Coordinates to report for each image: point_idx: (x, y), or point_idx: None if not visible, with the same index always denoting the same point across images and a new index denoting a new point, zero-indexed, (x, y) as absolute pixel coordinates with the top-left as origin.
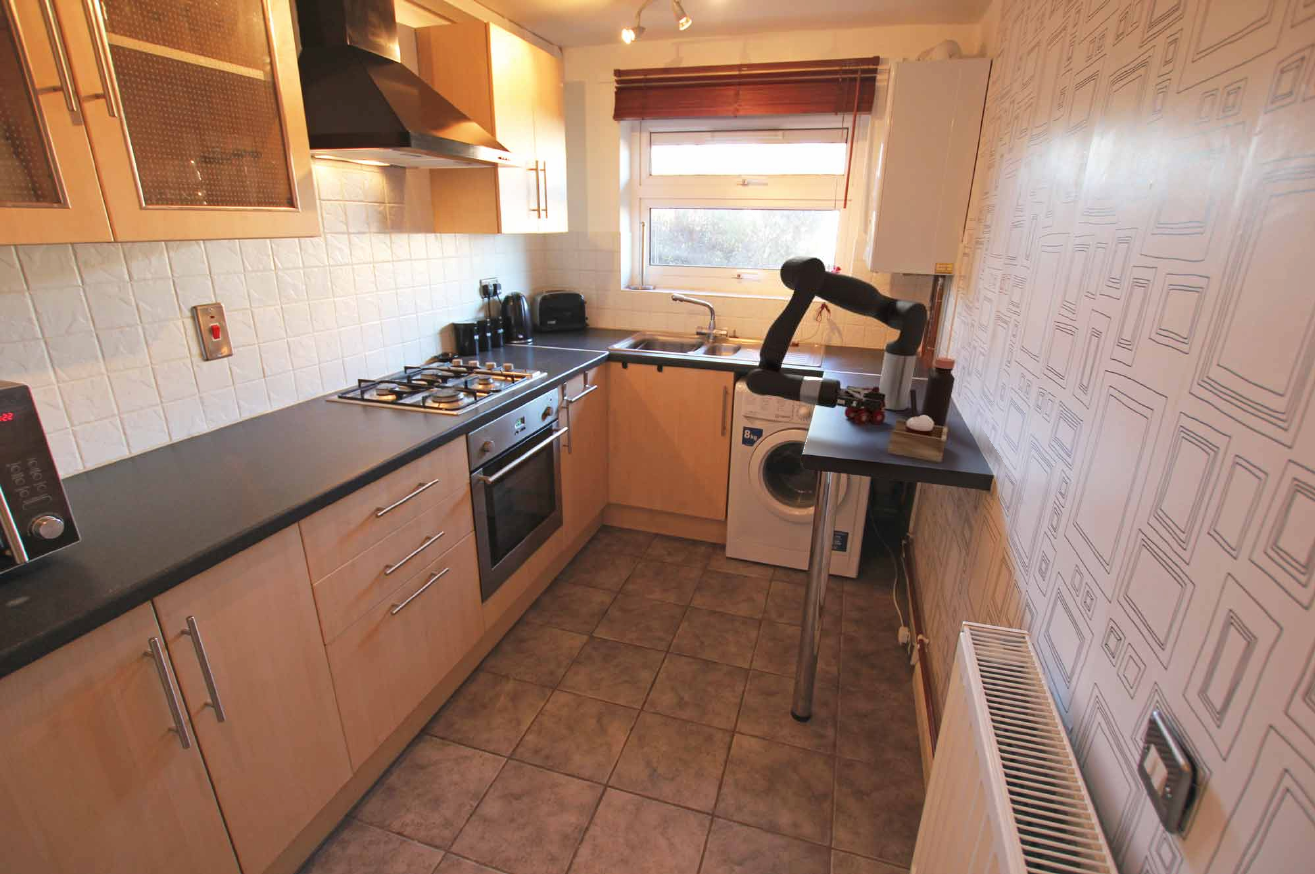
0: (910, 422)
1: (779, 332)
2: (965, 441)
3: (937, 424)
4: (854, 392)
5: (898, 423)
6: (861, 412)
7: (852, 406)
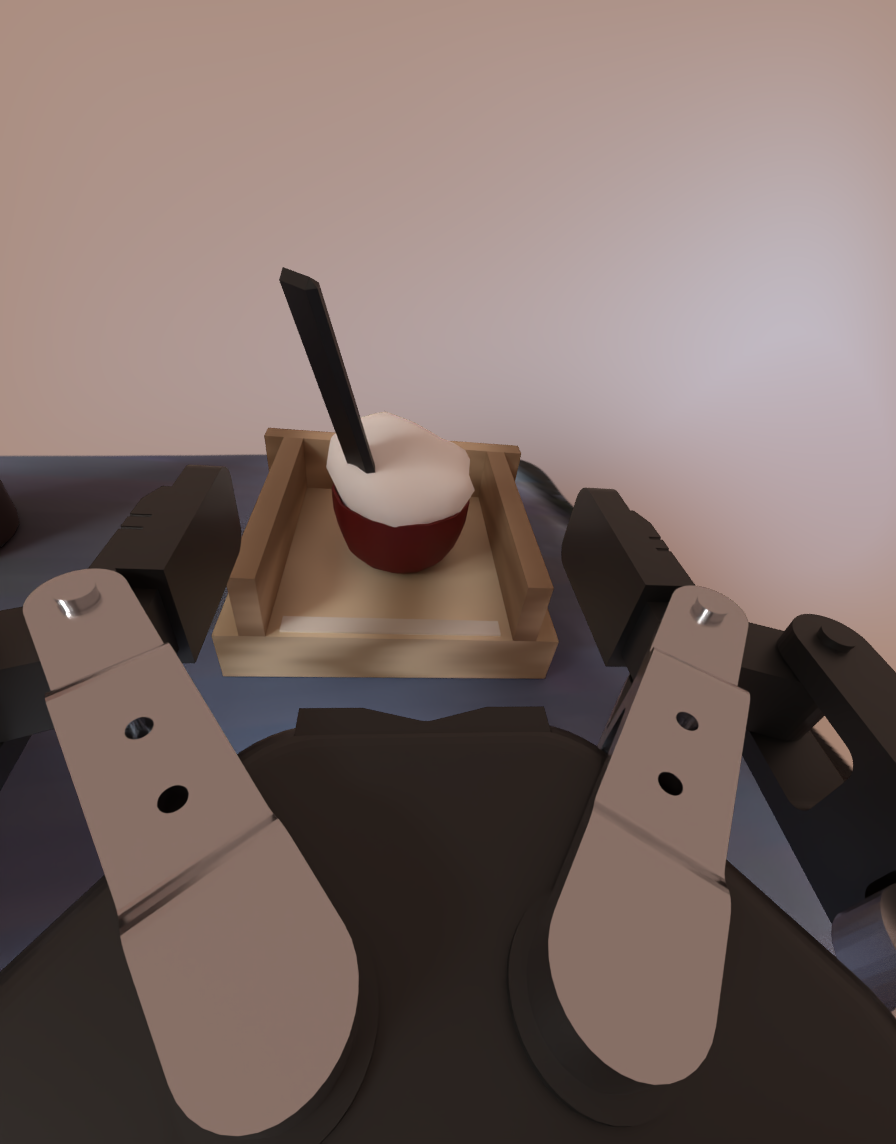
0: (440, 491)
1: None
2: (169, 465)
3: (5, 493)
4: (367, 811)
5: (260, 585)
6: None
7: (841, 783)
